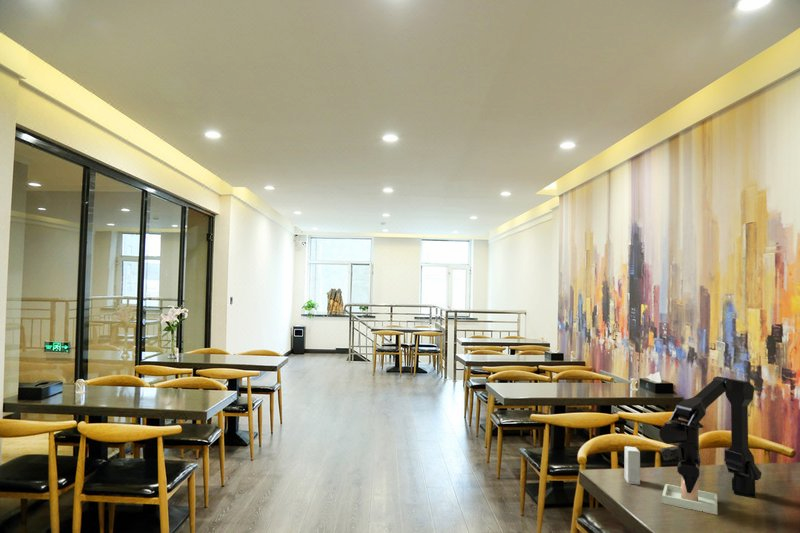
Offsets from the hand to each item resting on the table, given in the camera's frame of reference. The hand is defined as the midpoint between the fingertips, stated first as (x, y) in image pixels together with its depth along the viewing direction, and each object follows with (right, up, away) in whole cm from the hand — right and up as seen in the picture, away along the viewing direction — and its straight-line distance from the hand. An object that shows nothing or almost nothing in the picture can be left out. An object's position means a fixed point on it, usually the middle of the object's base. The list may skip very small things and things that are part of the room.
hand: (689, 488), depth 169 cm
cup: (0, -4, 0) cm, 4 cm away
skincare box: (-11, -6, +18) cm, 22 cm away
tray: (0, -5, 0) cm, 5 cm away
